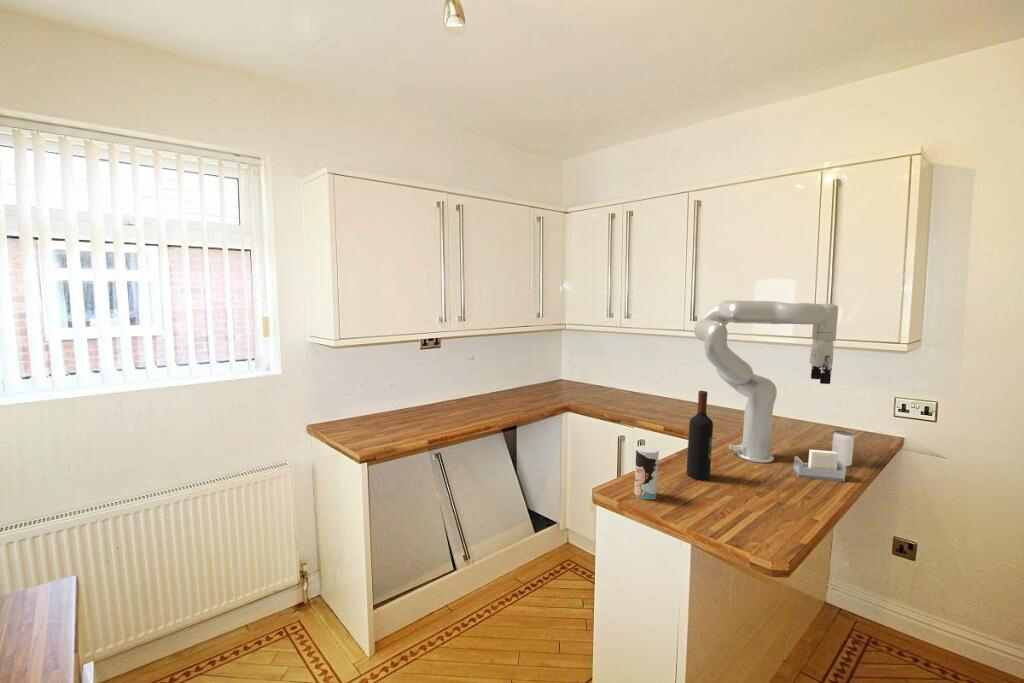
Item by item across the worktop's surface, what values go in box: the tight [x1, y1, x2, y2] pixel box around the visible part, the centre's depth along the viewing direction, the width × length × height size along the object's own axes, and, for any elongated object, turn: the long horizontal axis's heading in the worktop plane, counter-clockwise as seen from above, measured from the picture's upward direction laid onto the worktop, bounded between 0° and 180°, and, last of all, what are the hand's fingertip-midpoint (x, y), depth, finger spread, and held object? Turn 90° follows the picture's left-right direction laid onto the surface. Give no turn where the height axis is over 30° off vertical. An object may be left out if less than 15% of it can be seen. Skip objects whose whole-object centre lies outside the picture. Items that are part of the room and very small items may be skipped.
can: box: [831, 430, 855, 468], centre depth 179 cm, size 6×6×12 cm
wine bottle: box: [686, 390, 714, 481], centre depth 164 cm, size 8×8×30 cm
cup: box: [633, 445, 659, 499], centre depth 149 cm, size 7×7×15 cm
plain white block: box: [807, 449, 838, 470], centre depth 166 cm, size 8×3×8 cm, turn 76°
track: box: [792, 455, 847, 483], centre depth 167 cm, size 14×6×6 cm, turn 75°
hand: (820, 381), depth 182 cm, fingers open, 9 cm apart
